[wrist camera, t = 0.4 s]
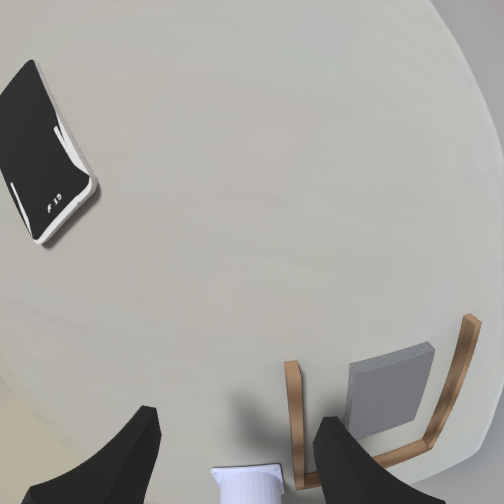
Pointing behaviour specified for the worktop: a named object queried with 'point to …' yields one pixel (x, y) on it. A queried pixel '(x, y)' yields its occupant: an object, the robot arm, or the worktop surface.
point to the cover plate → (386, 390)
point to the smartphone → (40, 155)
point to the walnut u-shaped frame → (399, 455)
